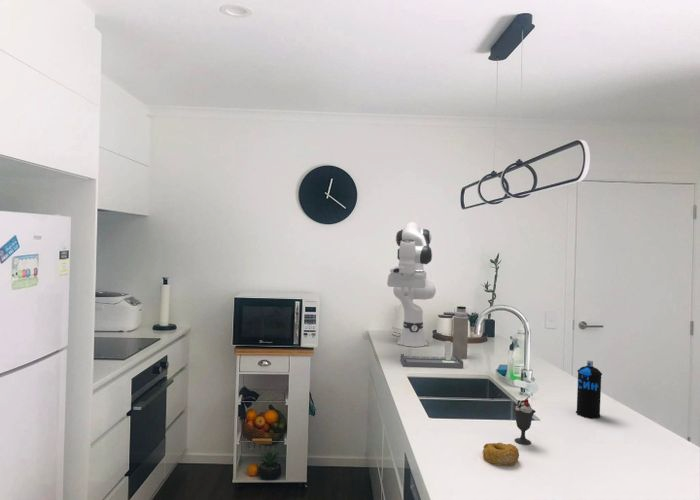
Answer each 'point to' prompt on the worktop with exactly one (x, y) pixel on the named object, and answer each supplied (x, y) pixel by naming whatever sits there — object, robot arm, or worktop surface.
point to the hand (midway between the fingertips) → (405, 295)
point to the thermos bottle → (460, 333)
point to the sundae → (523, 419)
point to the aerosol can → (589, 391)
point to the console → (431, 362)
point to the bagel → (501, 454)
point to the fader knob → (447, 350)
